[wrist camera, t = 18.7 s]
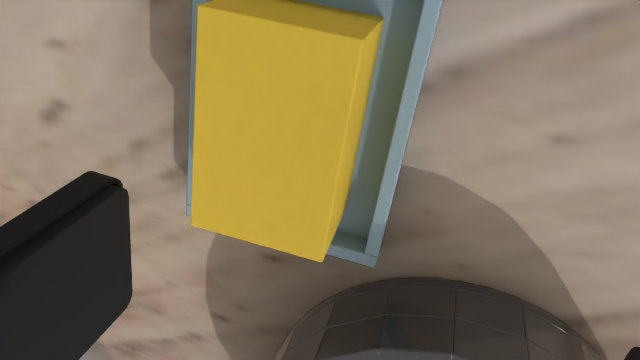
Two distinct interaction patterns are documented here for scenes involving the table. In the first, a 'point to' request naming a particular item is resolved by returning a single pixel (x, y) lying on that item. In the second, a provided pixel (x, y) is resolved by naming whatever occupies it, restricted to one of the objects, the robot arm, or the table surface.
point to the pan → (431, 326)
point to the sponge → (278, 119)
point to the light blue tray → (370, 119)
